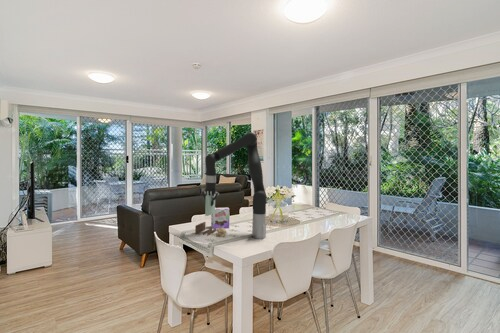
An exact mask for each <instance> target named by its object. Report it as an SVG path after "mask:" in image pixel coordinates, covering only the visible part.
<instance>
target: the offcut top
mask: <svg viewBox="0 0 500 333" xmlns="http://www.w3.org/2000/svg"><path fill="white" fill-rule="evenodd" d="M216 232H217V233H219V234H225V235H227V233H228V232H227V230H226V228H217V229H216Z"/></svg>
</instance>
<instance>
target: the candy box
mask: <svg viewBox="0 0 500 333" xmlns="http://www.w3.org/2000/svg"><path fill="white" fill-rule="evenodd" d="M230 212H231V211H230V208H229V207H215V213H214V214H211V217H210V218H211V219H210V229H211V228H212V230H214V229H216V230H217V228H224V229H230Z"/></svg>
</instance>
